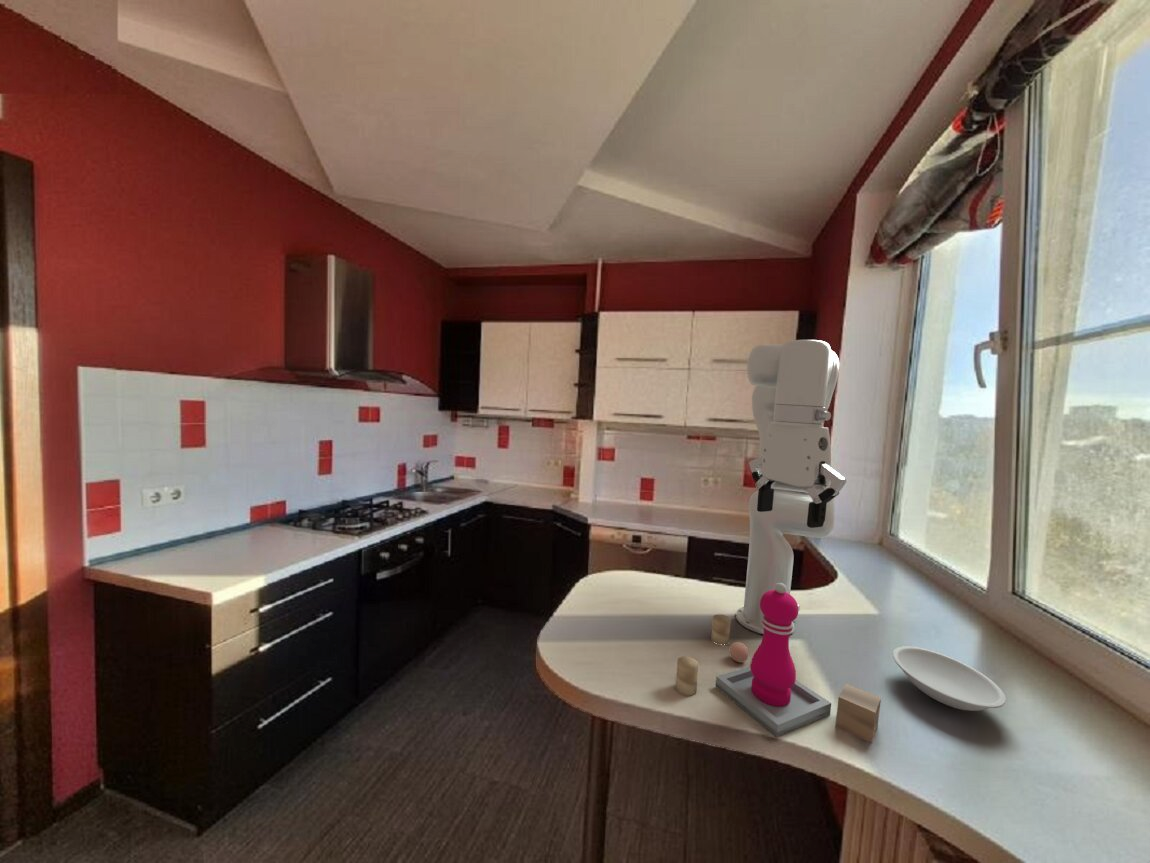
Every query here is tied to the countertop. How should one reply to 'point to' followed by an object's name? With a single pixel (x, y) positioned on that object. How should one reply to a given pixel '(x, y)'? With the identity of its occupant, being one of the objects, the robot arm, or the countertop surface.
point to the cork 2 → (720, 629)
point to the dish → (948, 679)
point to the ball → (739, 652)
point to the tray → (774, 718)
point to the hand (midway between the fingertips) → (788, 518)
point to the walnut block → (858, 712)
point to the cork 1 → (687, 676)
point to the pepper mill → (775, 649)
